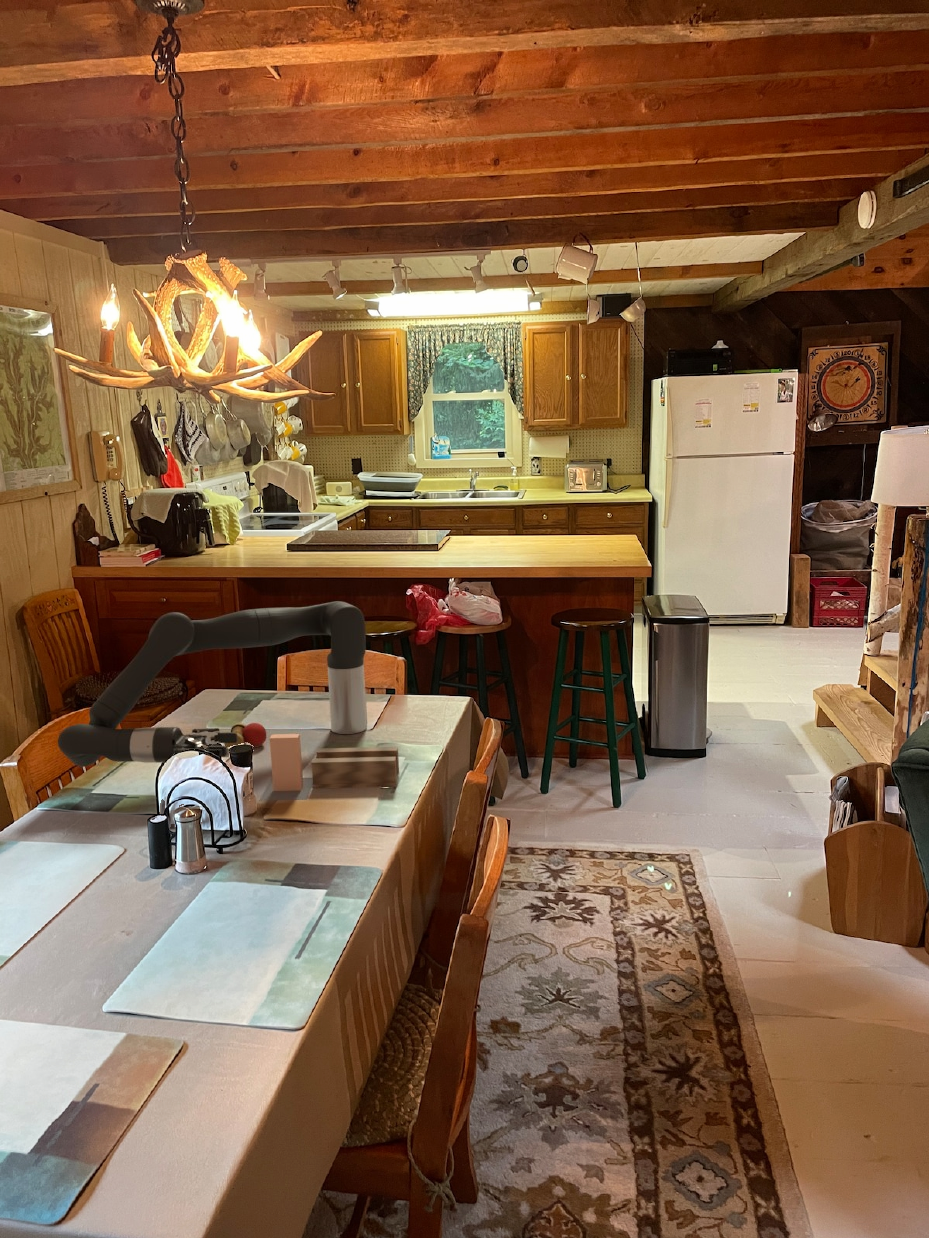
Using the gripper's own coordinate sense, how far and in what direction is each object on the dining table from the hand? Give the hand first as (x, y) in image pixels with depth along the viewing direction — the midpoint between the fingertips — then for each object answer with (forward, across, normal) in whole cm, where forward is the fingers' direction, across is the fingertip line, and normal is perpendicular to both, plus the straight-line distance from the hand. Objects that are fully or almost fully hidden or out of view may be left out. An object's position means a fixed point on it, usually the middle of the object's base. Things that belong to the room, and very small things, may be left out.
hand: (231, 744), depth 194 cm
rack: (+26, +5, +10) cm, 28 cm away
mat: (+12, 0, +11) cm, 16 cm away
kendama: (-8, +29, +11) cm, 32 cm away
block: (+12, 0, +10) cm, 16 cm away
